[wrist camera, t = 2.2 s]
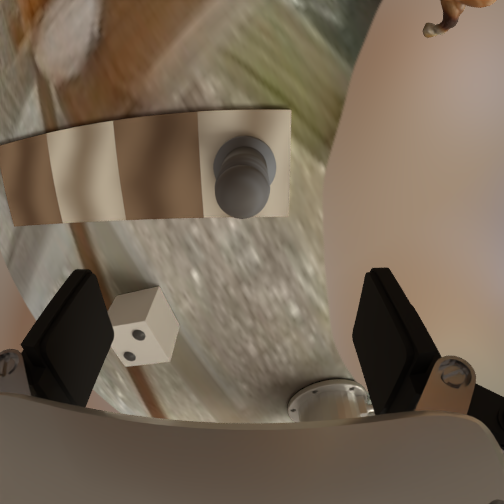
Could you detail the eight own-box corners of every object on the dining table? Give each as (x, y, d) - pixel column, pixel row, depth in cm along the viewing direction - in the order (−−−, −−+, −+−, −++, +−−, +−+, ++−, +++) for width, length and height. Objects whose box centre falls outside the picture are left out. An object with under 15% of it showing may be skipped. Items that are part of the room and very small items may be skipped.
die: (159, 285, 35) (144, 321, 30) (179, 325, 38) (170, 362, 32) (116, 295, 36) (98, 329, 30) (138, 332, 39) (124, 367, 33)
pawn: (275, 135, 27) (286, 157, 18) (275, 193, 29) (283, 239, 21) (213, 136, 27) (194, 159, 18) (216, 194, 29) (200, 240, 21)
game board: (290, 109, 26) (291, 110, 25) (288, 214, 31) (288, 216, 30) (0, 145, 26) (-4, 146, 26) (16, 224, 31) (14, 226, 31)
